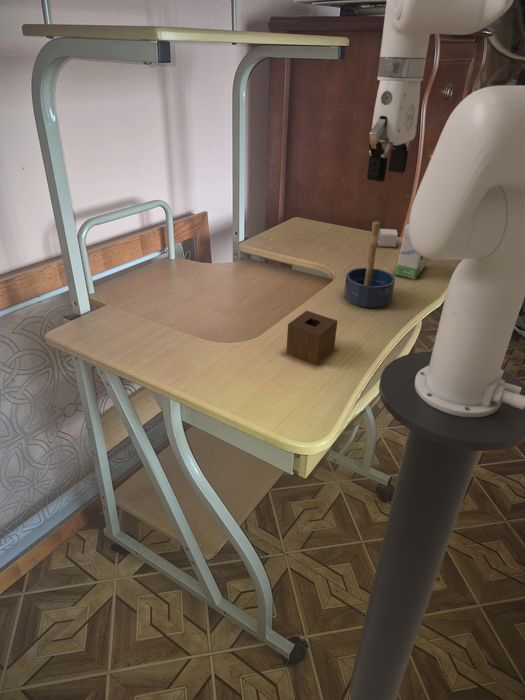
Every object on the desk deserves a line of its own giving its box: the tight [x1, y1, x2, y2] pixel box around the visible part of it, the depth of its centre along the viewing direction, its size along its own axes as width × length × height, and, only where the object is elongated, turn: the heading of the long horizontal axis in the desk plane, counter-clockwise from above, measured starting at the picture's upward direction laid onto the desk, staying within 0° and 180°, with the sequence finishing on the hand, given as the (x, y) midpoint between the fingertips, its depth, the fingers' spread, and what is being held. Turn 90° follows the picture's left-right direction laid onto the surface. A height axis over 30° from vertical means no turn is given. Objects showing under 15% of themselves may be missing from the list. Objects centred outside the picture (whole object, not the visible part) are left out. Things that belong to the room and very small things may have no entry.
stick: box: [364, 221, 381, 286], centre depth 102 cm, size 1×1×16 cm
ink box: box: [395, 222, 427, 280], centre depth 117 cm, size 9×5×12 cm, turn 150°
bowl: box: [343, 267, 396, 309], centre depth 105 cm, size 10×10×5 cm
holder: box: [285, 310, 338, 366], centre depth 86 cm, size 6×6×6 cm
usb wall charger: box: [369, 228, 399, 248], centre depth 134 cm, size 4×7×4 cm, turn 84°
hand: (386, 176), depth 93 cm, fingers open, 9 cm apart
